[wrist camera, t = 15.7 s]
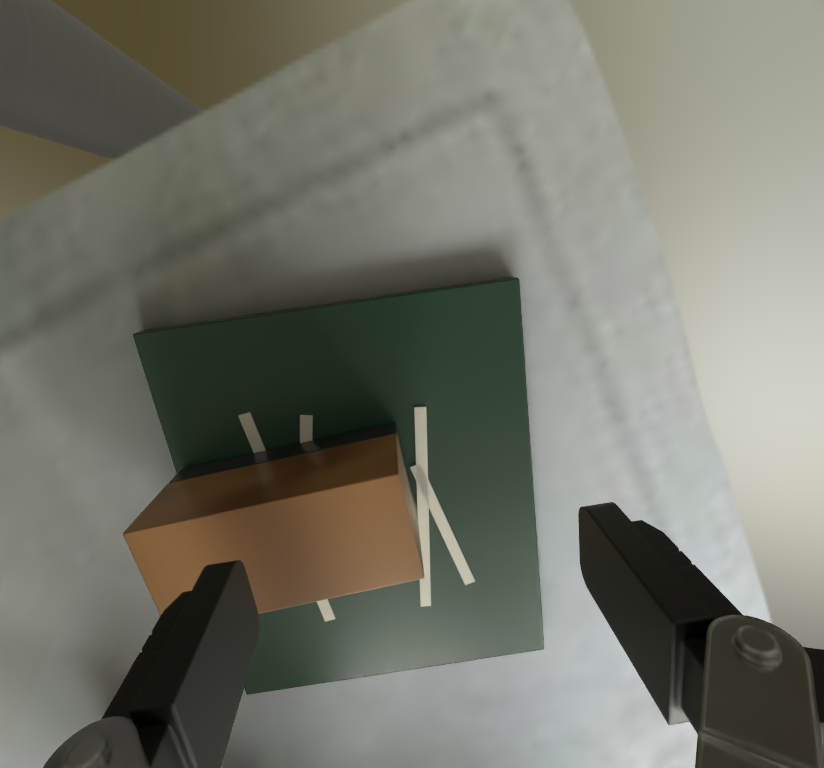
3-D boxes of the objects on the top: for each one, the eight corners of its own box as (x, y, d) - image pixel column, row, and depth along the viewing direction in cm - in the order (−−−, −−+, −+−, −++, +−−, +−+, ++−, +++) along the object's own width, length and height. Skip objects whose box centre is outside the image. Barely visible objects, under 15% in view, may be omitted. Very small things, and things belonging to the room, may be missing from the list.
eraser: (396, 421, 23) (398, 473, 18) (416, 507, 25) (424, 578, 20) (180, 468, 24) (121, 533, 18) (214, 551, 25) (168, 634, 20)
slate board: (142, 330, 23) (130, 334, 21) (513, 276, 23) (520, 277, 22) (250, 680, 29) (245, 696, 28) (539, 636, 29) (545, 651, 28)
